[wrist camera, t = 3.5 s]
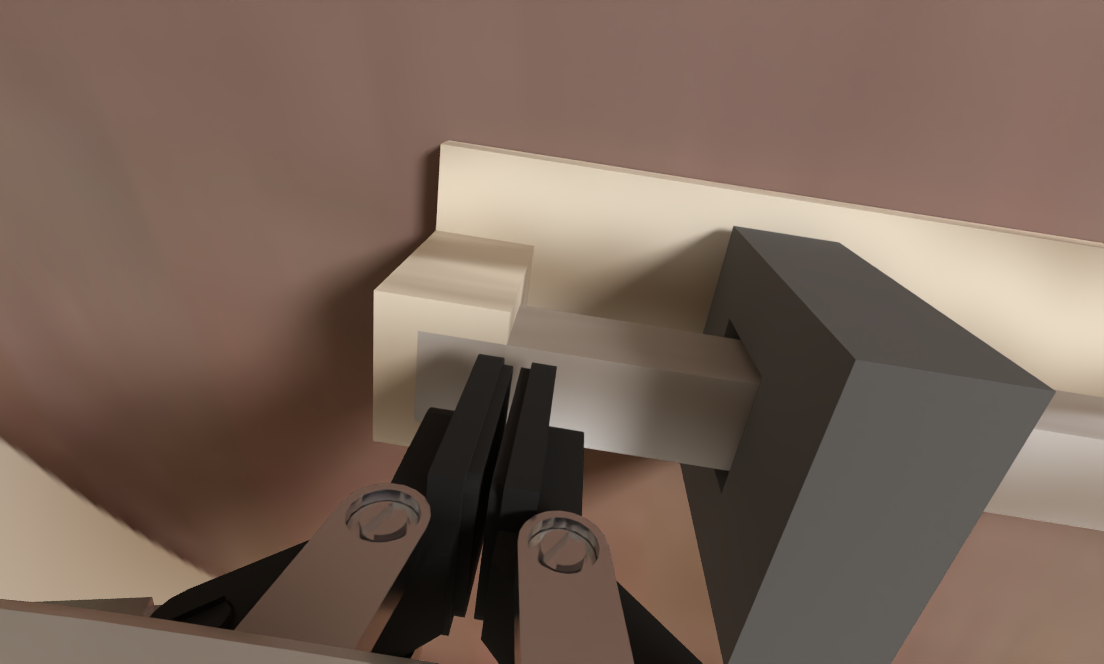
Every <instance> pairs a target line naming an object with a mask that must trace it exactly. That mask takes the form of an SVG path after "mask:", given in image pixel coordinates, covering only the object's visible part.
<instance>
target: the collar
mask: <svg viewBox="0 0 1104 664" xmlns="http://www.w3.org/2000/svg"><path fill="white" fill-rule="evenodd" d="M703 334H706V335H713V336H719V337H725V338H731V339H738V340H742V342H743V344H744V346H745V348H746V349H747V351H748V353H749V355H750V357H751V358H752V360H753V362H754V364H755V366H756V368H757V369H758V371H759V373H760V375H761V377H762V378H761V381H760V384H759V387H758V390H757V393H756V395H755V398H754V401H753V404H752V407H751V410H750V413H749V416H748V419H747V422H746V424H745V427H744V430H743V433H742V436H741V439H740V442H739V445H738V448H737V451H736V453H735V456H734V459H733V462H732V465H731V468H730V471H727V470H720V469H714V468H708V467H702V466H695V465H689V464H683V463H680V465H681V469H682V474H683V479H684V483H685V488H686V492H687V497H688V502H689V506H690V511H691V516H692V520H693V525H694V529H695V534H696V539H697V543H698V548H699V552H700V557H701V562H702V566H703V571H704V576H705V580H706V585H707V589H708V594H709V599H710V603H711V608H712V612H713V617H714V622H715V626H716V631H717V636H718V640H719V645H720V649H721V654H722V659H723V663H724V664H891V662H892V661H893V659H894V657H895V656H896V654H897V653H898V651H899V649H900V648H901V646H902V644H903V643H904V641H905V639H906V638H907V636H908V634H909V633H910V631H911V630H912V628H913V626H914V625H915V623H916V621H917V620H918V618H919V616H920V615H921V613H922V611H923V610H924V608H925V607H926V605H927V603H928V602H929V600H930V598H931V597H932V595H933V593H934V592H935V590H936V588H937V587H938V585H939V584H940V582H941V580H942V579H943V577H944V575H945V574H946V572H947V570H948V569H949V567H950V565H951V564H952V562H953V561H954V559H955V557H956V556H957V554H958V552H959V551H960V549H961V547H962V546H963V544H964V542H965V541H966V539H967V538H968V536H969V534H970V533H971V531H972V529H973V528H974V526H975V524H976V523H977V521H978V519H979V518H980V516H981V515H982V513H983V511H984V510H985V508H986V506H987V505H988V503H989V501H990V500H991V498H992V496H993V495H994V493H995V492H996V490H997V488H998V487H999V485H1000V483H1001V482H1002V480H1003V478H1004V477H1005V475H1006V473H1007V472H1008V470H1009V469H1010V467H1011V465H1012V464H1013V462H1014V460H1015V459H1016V457H1017V455H1018V454H1019V452H1020V451H1021V449H1022V447H1023V446H1024V444H1025V442H1026V441H1027V439H1028V437H1029V436H1030V434H1031V432H1032V431H1033V429H1034V428H1035V426H1036V424H1037V423H1038V421H1039V419H1040V418H1041V416H1042V414H1043V413H1044V411H1045V409H1046V408H1047V406H1048V405H1049V403H1050V401H1051V400H1052V398H1053V396H1054V395H1055V393H1056V391H1055V390H1054V389H1052V388H1051V387H1049V386H1048V385H1046V384H1045V383H1043V382H1042V381H1040V380H1039V379H1038V378H1036V377H1035V376H1033V375H1032V374H1030V373H1029V372H1027V371H1026V370H1024V369H1023V368H1021V367H1020V366H1019V365H1017V364H1016V363H1014V362H1013V361H1011V360H1010V359H1008V358H1007V357H1005V356H1004V355H1003V354H1001V353H1000V352H998V351H997V350H995V349H994V348H992V347H991V346H989V345H988V344H987V343H985V342H984V341H982V340H981V339H979V338H978V337H976V336H975V335H973V334H972V333H970V332H969V331H968V330H966V329H965V328H963V327H962V326H960V325H959V324H957V323H956V322H954V321H953V320H952V319H950V318H949V317H947V316H946V315H944V314H943V313H941V312H940V311H938V310H937V309H935V308H934V307H933V306H931V305H930V304H928V303H927V302H925V301H924V300H922V299H921V298H919V297H918V296H917V295H915V294H914V293H912V292H911V291H909V290H908V289H906V288H905V287H903V286H902V285H900V284H899V283H898V282H896V281H895V280H893V279H892V278H890V277H889V276H887V275H886V274H884V273H883V272H882V271H880V270H879V269H877V268H876V267H874V266H873V265H871V264H870V263H868V262H867V261H866V260H864V259H863V258H861V257H860V256H858V255H857V254H855V253H854V252H852V251H851V250H849V249H848V248H847V247H845V246H844V245H842V244H841V243H839V242H834V241H827V240H821V239H815V238H808V237H802V236H795V235H789V234H783V233H776V232H770V231H764V230H757V229H751V228H745V227H738V226H733V229H732V233H731V236H730V240H729V243H728V247H727V250H726V254H725V257H724V261H723V264H722V268H721V271H720V275H719V278H718V282H717V286H716V289H715V293H714V296H713V300H712V303H711V307H710V310H709V314H708V317H707V321H706V324H705V328H704V331H703Z"/></svg>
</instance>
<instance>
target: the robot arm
mask: <svg viewBox="0 0 1104 664" xmlns="http://www.w3.org/2000/svg"><path fill="white" fill-rule="evenodd" d="M504 362H505V358H503V357H497V356H490V355H484V354H479V355H478V357H477V359H476V361H475V364H474V366H473V368H472V371H471V373H470V376H469V378H468V380H467V383H466V385H465V387H464V390H463V392H462V395H461V397H460V399H459V402H458V404H457V406H456V409H455V411H453V410H447V409H441V408H435V407H430V408H429V409H428V411H427V412H426V414H425V416H424V418H423V420H422V422H421V424H420V426H419V428H418V430H417V432H416V434H415V436H414V438H413V440H412V442H411V444H410V446H409V448H408V450H407V452H406V454H405V456H404V458H403V460H402V462H401V464H400V466H399V468H398V470H397V472H396V474H395V476H394V478H393V480H392V482H391V483H385V484H375V485H371V486H367V487H364V488H362V489H360V490H358V491H356V492H354V493H352V494H350V495H349V496H348V497H347V498H346V499H345V500H344V501H342V502H341V504H340V505H339V506H338V507H337V508H336V509H335V511H334V512H333V513H332V514H331V515H330V517H329V518H328V519H327V520H326V521H325V523H324V524H323V525H322V526H321V527H320V528H319V530H318V531H317V532H316V533H315V534H314V536H313V537H312V538H311V539H310V540H308V541H306V542H303V543H301V544H298V545H296V546H293V547H291V548H288V549H286V550H284V551H281V552H279V553H276V554H274V555H271V556H269V557H266V558H264V559H261V560H259V561H257V562H254V563H252V564H249V565H247V566H244V567H242V568H239V569H237V570H234V571H232V572H230V573H227V574H225V575H222V576H220V577H217V578H215V579H212V580H210V581H207V582H205V583H203V584H200V585H198V586H195V587H193V588H190V589H188V590H186V591H185V592H182V593H180V594H179V595H176V596H174V597H172V598H171V599H169V600H168V601H167V602H165V603H164V604H163V605H154V603H153V599H152V597H145V598H121V599H98V600H97V599H96V600H71V601H46V602H24V601H14V600H5V599H0V664H438V663H432V662H426V661H420V660H419V658H420V655H421V652H422V646H423V645H424V644H426V643H428V642H429V641H431V640H433V639H434V638H436V637H438V636H439V635H447V636H449V632H450V628H451V624H452V621H453V617H454V616H459V617H465V615H466V611H467V607H468V603H469V599H470V595H471V590H472V586H473V582H474V578H475V574H476V570H477V566H478V561H479V557H480V553H481V549H482V545H483V550H482V558H481V566H480V574H479V582H478V590H477V598H476V606H475V614H474V619H477V620H483V629H482V636H481V640H482V641H483V643H484V644H485V645H486V647H487V648H488V649H489V651H490V652H491V653H492V655H493V656H494V657H495V659H496V660H497V662H498V664H703V663H702V662H701V661H699V660H698V659H697V658H696V657H695V656H694V655H693V654H692V653H691V652H690V651H689V650H688V649H687V648H686V647H685V646H684V645H683V644H682V643H681V642H680V641H679V640H678V639H677V638H675V637H674V636H673V635H672V634H671V633H670V632H669V631H668V630H667V629H666V628H665V627H664V626H663V625H662V624H661V623H660V622H659V621H658V620H657V619H656V618H655V617H654V616H653V615H652V614H650V613H649V612H648V611H647V610H646V609H645V608H644V607H643V606H642V605H641V604H640V603H639V602H638V601H637V600H636V599H635V598H634V597H633V596H632V595H631V594H630V593H629V592H628V591H627V590H625V589H624V588H623V587H622V586H621V585H620V584H619V583H618V582H617V581H616V577H615V572H614V568H613V563H612V558H611V554H610V549H609V545H608V543H607V540H606V538H605V535H604V534H603V533H602V532H601V530H600V529H599V528H598V527H597V526H596V525H595V524H593V523H592V522H591V521H589V520H588V519H586V518H585V517H582V492H583V462H584V432H582V431H576V430H570V429H564V428H558V427H552V426H549V422H550V415H551V408H552V400H553V393H554V385H555V378H556V370H557V366H552V365H546V364H540V363H534V362H532V365H531V369H529V368H523V367H521V369H520V373H519V377H518V381H517V385H516V388H515V392H514V396H513V400H512V404H511V408H510V412H509V416H508V419H507V413H508V405H509V397H510V390H511V382H512V374H513V366H510V365H504ZM506 420H507V423H506ZM483 541H484V542H483Z"/></svg>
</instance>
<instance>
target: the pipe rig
mask: <svg viewBox="0 0 1104 664" xmlns="http://www.w3.org/2000/svg"><path fill="white" fill-rule="evenodd" d="M733 226H738V227H745V228H751V229H757V230H764V231H770V232H776V233H783V234H789V235H795V236H802V237H808V238H815V239H821V240H827V241H834V242H839V243H841V244H842V245H844V246H845V247H847V248H848V249H849V250H851V251H852V252H854V253H855V254H857V255H858V256H860V257H861V258H863V259H864V260H866V261H867V262H868V263H870V264H871V265H873V266H874V267H876V268H877V269H879V270H880V271H882V272H883V273H884V274H886V275H887V276H889V277H890V278H892V279H893V280H895V281H896V282H898V283H899V284H900V285H902V286H903V287H905V288H906V289H908V290H909V291H911V292H912V293H914V294H915V295H917V296H918V297H919V298H921V299H922V300H924V301H925V302H927V303H928V304H930V305H931V306H933V307H934V308H935V309H937V310H938V311H940V312H941V313H943V314H944V315H946V316H947V317H949V318H950V319H952V320H953V321H954V322H956V323H957V324H959V325H960V326H962V327H963V328H965V329H966V330H968V331H969V332H970V333H972V334H973V335H975V336H976V337H978V338H979V339H981V340H982V341H984V342H985V343H987V344H988V345H989V346H991V347H992V348H994V349H995V350H997V351H998V352H1000V353H1001V354H1003V355H1004V356H1005V357H1007V358H1008V359H1010V360H1011V361H1013V362H1014V363H1016V364H1017V365H1019V366H1020V367H1021V368H1023V369H1024V370H1026V371H1027V372H1029V373H1030V374H1032V375H1033V376H1035V377H1036V378H1038V379H1039V380H1040V381H1042V382H1043V383H1045V384H1046V385H1048V386H1049V387H1051V388H1052V389H1054V390H1055V391H1056V393H1055V395H1054V396H1053V398H1052V400H1051V401H1050V403H1049V405H1048V406H1047V408H1046V409H1045V411H1044V413H1043V414H1042V416H1041V418H1040V419H1039V421H1038V423H1037V424H1036V426H1035V428H1034V429H1033V431H1032V432H1031V434H1030V436H1029V437H1028V439H1027V441H1026V442H1025V444H1024V446H1023V447H1022V449H1021V451H1020V452H1019V454H1018V455H1017V457H1016V459H1015V460H1014V462H1013V464H1012V465H1011V467H1010V469H1009V470H1008V472H1007V473H1006V475H1005V477H1004V478H1003V480H1002V482H1001V483H1000V485H999V487H998V488H997V490H996V492H995V493H994V495H993V496H992V498H991V500H990V501H989V503H988V505H987V506H986V508H985V510H984V511H983V512H989V513H995V514H1001V515H1007V516H1014V517H1020V518H1026V519H1032V520H1038V521H1045V522H1051V523H1057V524H1063V525H1070V526H1076V527H1082V528H1088V529H1095V530H1101V531H1104V243H1099V242H1092V241H1086V240H1080V239H1073V238H1067V237H1061V236H1054V235H1048V234H1042V233H1035V232H1029V231H1022V230H1016V229H1010V228H1003V227H997V226H991V225H984V224H978V223H972V222H965V221H959V220H952V219H946V218H940V217H933V216H927V215H921V214H914V213H908V212H902V211H895V210H889V209H883V208H876V207H870V206H863V205H857V204H851V203H844V202H838V201H832V200H825V199H819V198H813V197H806V196H800V195H793V194H787V193H781V192H774V191H768V190H762V189H755V188H749V187H743V186H736V185H730V184H724V183H717V182H711V181H704V180H698V179H692V178H685V177H679V176H673V175H666V174H660V173H654V172H647V171H641V170H635V169H628V168H622V167H615V166H609V165H603V164H596V163H590V162H584V161H577V160H571V159H565V158H558V157H552V156H545V155H539V154H533V153H526V152H520V151H514V150H507V149H501V148H495V147H488V146H482V145H476V144H469V143H463V142H456V141H450V140H449V141H447V142H444V143H442V144H441V148H440V167H439V185H438V203H437V222H436V231H435V232H434V233H433V234H432V235H431V236H430V237H429V238H428V239H427V240H425V241H424V242H423V243H422V244H421V245H420V246H419V247H418V248H417V249H416V250H415V251H414V252H413V253H412V254H411V255H410V256H409V257H408V258H407V259H406V260H405V261H404V262H403V263H402V264H401V265H400V266H399V267H397V268H396V269H395V270H394V271H393V272H392V273H391V274H390V275H389V276H388V277H387V278H386V279H385V280H384V281H383V282H382V283H381V284H380V285H379V286H378V287H377V288H376V289H375V290H374V332H373V441H377V442H383V443H389V444H395V445H402V446H408V447H409V446H410V444H411V442H412V440H413V438H414V436H415V434H416V432H417V430H418V428H419V426H420V424H421V422H422V420H423V418H424V416H425V414H426V412H427V411H428V409H429V408H430V407H435V408H441V409H447V410H453V411H455V409H456V406H457V404H458V402H459V399H460V397H461V395H462V392H463V390H464V387H465V385H466V383H467V380H468V378H469V376H470V373H471V371H472V368H473V366H474V364H475V361H476V359H477V357H478V355H479V354H484V355H490V356H497V357H503V358H505V362H504V365H510V366H513V374H512V382H511V390H510V397H509V405H508V413H507V419H508V416H509V412H510V408H511V404H512V400H513V396H514V392H515V388H516V385H517V381H518V377H519V373H520V369H521V367H523V368H529V369H531V365H532V362H534V363H540V364H546V365H552V366H557V370H556V378H555V385H554V393H553V400H552V408H551V415H550V422H549V426H552V427H558V428H564V429H570V430H576V431H582V432H584V448H589V449H596V450H602V451H608V452H614V453H621V454H627V455H633V456H639V457H646V458H652V459H658V460H664V461H671V462H677V463H683V464H689V465H695V466H702V467H708V468H714V469H720V470H727V471H730V468H731V465H732V462H733V459H734V456H735V453H736V451H737V448H738V445H739V442H740V439H741V436H742V433H743V430H744V427H745V424H746V422H747V419H748V416H749V413H750V410H751V407H752V404H753V401H754V398H755V395H756V393H757V390H758V387H759V384H760V381H761V378H762V377H761V375H760V373H759V371H758V369H757V368H756V366H755V364H754V362H753V360H752V358H751V357H750V355H749V353H748V351H747V349H746V348H745V346H744V344H743V342H742V340H738V339H731V338H725V337H719V336H713V335H706V334H703V331H704V328H705V324H706V321H707V317H708V314H709V310H710V307H711V303H712V300H713V296H714V293H715V289H716V286H717V282H718V278H719V275H720V271H721V268H722V264H723V261H724V257H725V254H726V250H727V247H728V243H729V240H730V236H731V233H732V229H733ZM506 423H507V420H506Z"/></svg>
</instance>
